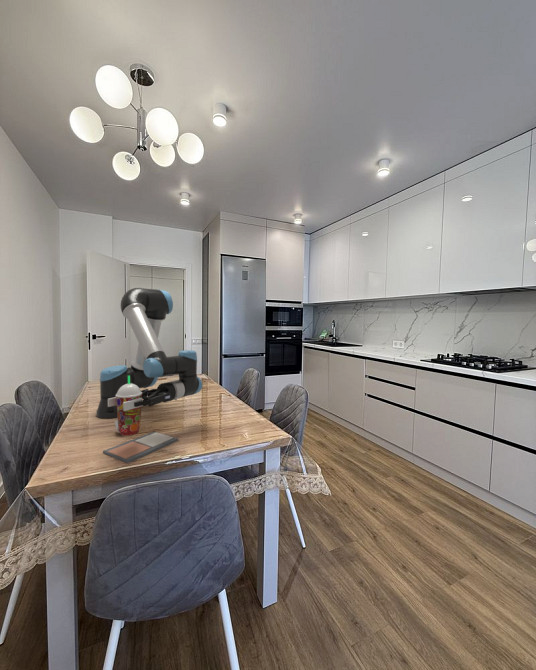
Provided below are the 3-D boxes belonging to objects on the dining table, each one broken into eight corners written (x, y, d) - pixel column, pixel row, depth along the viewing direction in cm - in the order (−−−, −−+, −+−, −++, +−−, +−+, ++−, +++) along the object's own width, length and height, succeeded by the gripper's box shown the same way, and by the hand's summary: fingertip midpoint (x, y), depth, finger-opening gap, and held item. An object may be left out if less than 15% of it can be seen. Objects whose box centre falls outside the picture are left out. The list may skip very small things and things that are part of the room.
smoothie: (125, 439, 94) (124, 379, 93) (111, 433, 98) (110, 376, 98) (147, 431, 101) (147, 375, 100) (133, 426, 106) (132, 372, 105)
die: (142, 432, 119) (139, 411, 124) (132, 429, 112) (129, 406, 116) (123, 440, 119) (121, 418, 123) (112, 437, 111) (109, 414, 115)
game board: (103, 453, 99) (102, 450, 99) (154, 433, 117) (154, 430, 117) (128, 463, 92) (127, 460, 92) (178, 440, 110) (178, 438, 110)
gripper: (189, 404, 110) (135, 421, 90) (153, 396, 120) (98, 410, 101) (189, 384, 110) (135, 397, 90) (153, 379, 120) (98, 389, 100)
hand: (116, 404), depth 95 cm, fingers closed on smoothie, 8 cm apart
